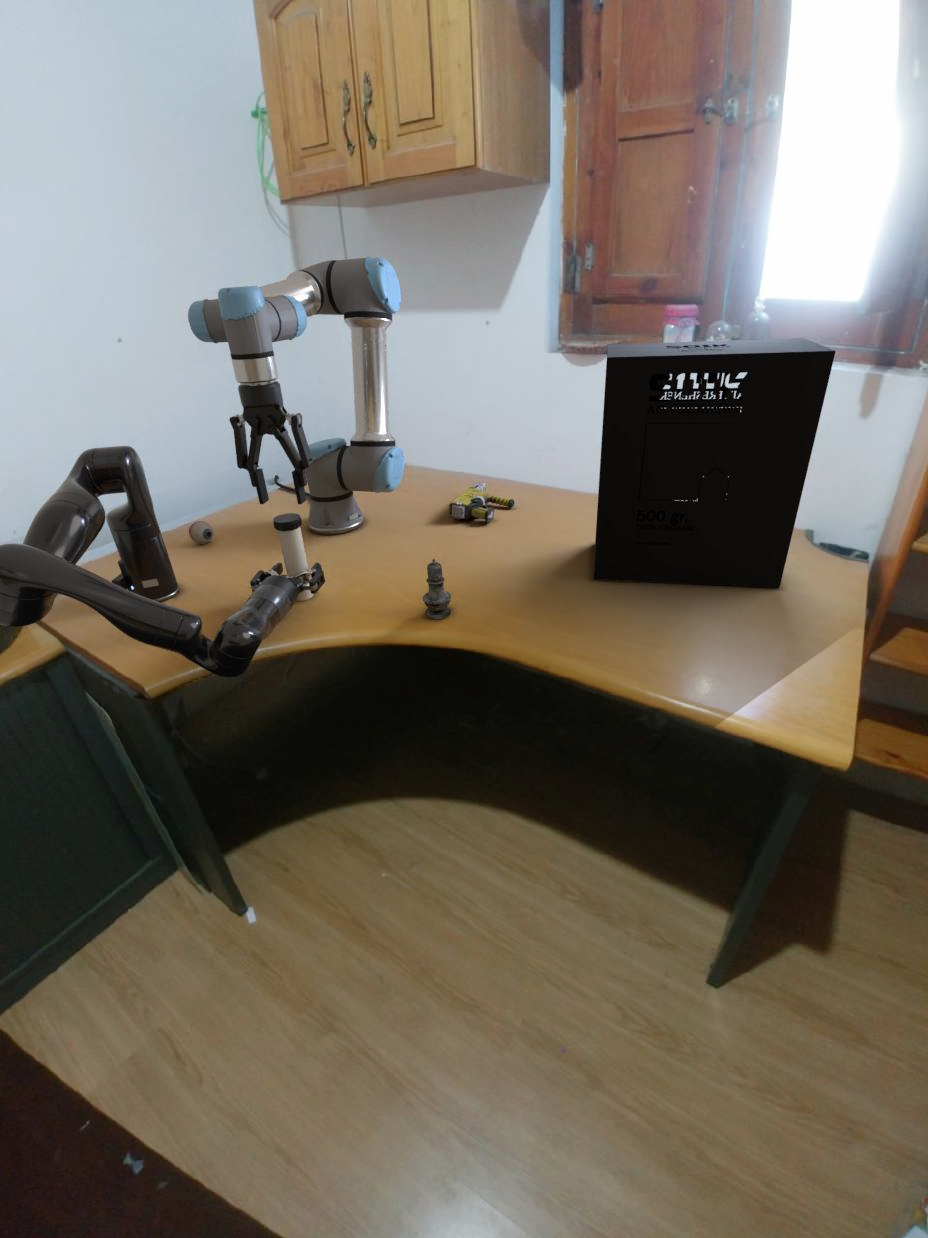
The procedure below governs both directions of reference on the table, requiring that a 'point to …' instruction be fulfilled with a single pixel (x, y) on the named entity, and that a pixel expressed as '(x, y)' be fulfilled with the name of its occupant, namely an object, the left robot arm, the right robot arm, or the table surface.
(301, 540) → the jar
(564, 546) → the table surface
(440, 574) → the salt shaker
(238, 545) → the table surface
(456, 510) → the toy gun
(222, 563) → the table surface
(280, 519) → the lid
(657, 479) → the cardboard box
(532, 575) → the table surface
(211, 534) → the eyeball
